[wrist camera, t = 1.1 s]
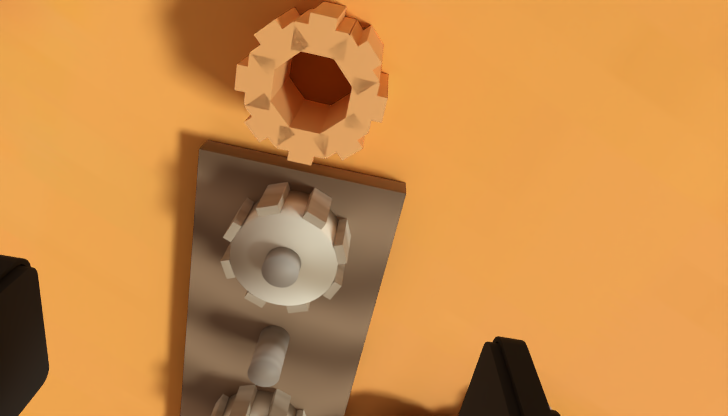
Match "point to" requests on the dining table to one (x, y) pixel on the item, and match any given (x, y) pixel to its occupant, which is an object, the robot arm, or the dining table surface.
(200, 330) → the gear board
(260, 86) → the orange gear
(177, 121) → the dining table surface
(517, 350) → the robot arm
